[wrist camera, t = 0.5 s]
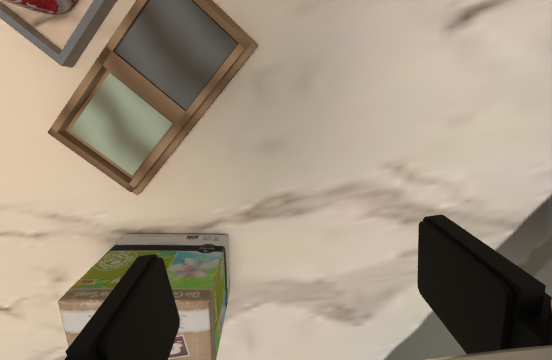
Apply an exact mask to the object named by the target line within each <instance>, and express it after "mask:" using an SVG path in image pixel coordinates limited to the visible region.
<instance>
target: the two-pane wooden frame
mask: <svg viewBox="0 0 552 360" xmlns="http://www.w3.org/2000/svg"><path fill="white" fill-rule="evenodd" d="M257 47H258V44H257V43H256V42H255V41H254V40H253V39H252V38H251V37H250V36H248V35H247V34H246V33H245V32H244V31H243V30H242V29H241V28H240V27H239V26H238V25H237V24H236V23H235V22H234V21H233V20H232V19H231V18H230V17H229V16H228V15H227V14H226V13H225V12H223V11H222V10H221V9H220V8H219V7H218V6H217V5H216V4H215V3H214V2H213V1H212V0H136V2H135V3H134V5H133V6H132V8H131V9H130V11H129V12H128V14H127V15H126V17H125V18H124V20H123V21H122V22H121V24H120V25H119V27H118V28H117V30H116V31H115V33H114V34H113V36H112V37H111V39H110V40H109V42H108V43H107V45H106V46H105V48H104V49H103V51H102V52H101V54H100V55H99V57H98V58H97V60H96V61H95V63H94V64H93V66H92V67H91V69H90V70H89V72H88V73H87V75H86V76H85V77H84V79H83V80H82V82H81V83H80V85H79V86H78V88H77V89H76V91H75V92H74V94H73V95H72V97H71V98H70V100H69V101H68V103H67V104H66V106H65V107H64V109H63V110H62V112H61V113H60V115H59V116H58V118H57V119H56V121H55V122H54V124H53V125H52V127H51V128H50V130H49V131H48V133H49V134H50V135H51V136H53V137H54V138H56V139H57V140H58V141H60V142H61V143H63V144H64V145H65V146H67V147H68V148H70V149H71V150H72V151H74V152H75V153H77V154H78V155H79V156H81V157H82V158H84V159H85V160H86V161H88V162H89V163H91V164H92V165H93V166H95V167H96V168H98V169H99V170H100V171H102V172H103V173H105V174H106V175H107V176H109V177H110V178H112V179H113V180H114V181H116V182H117V183H119V184H120V185H121V186H123V187H124V188H126V189H127V190H128V191H130V192H133V193H135V194H136V195H138V194H140V193H141V192H142V191H143V189H144V188H145V187H146V186H147V184H148V183H149V182H150V181H151V179H152V178H153V177H154V176H155V174H156V173H157V172H158V171H159V169H160V168H161V167H162V166H163V164H164V163H165V162H166V161H167V159H168V158H169V157H170V156H171V154H172V153H173V152H174V150H175V149H176V148H177V147H178V145H179V144H180V143H181V142H182V140H183V139H184V138H185V137H186V135H187V134H188V133H189V132H190V130H191V129H192V128H193V127H194V125H195V124H196V123H197V122H198V120H199V119H200V118H201V117H202V115H203V114H204V113H205V112H206V110H207V109H208V108H209V107H210V105H211V104H212V103H213V102H214V100H215V99H216V98H217V97H218V95H219V94H220V93H221V92H222V90H223V89H224V88H225V87H226V85H227V84H228V83H229V82H230V80H231V79H232V78H233V77H234V75H235V74H236V73H237V72H238V70H239V69H240V68H241V67H242V65H243V64H244V63H245V62H246V60H247V59H248V58H249V57H250V55H251V54H252V53H253V52H254V50H255V49H256V48H257Z"/></svg>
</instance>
